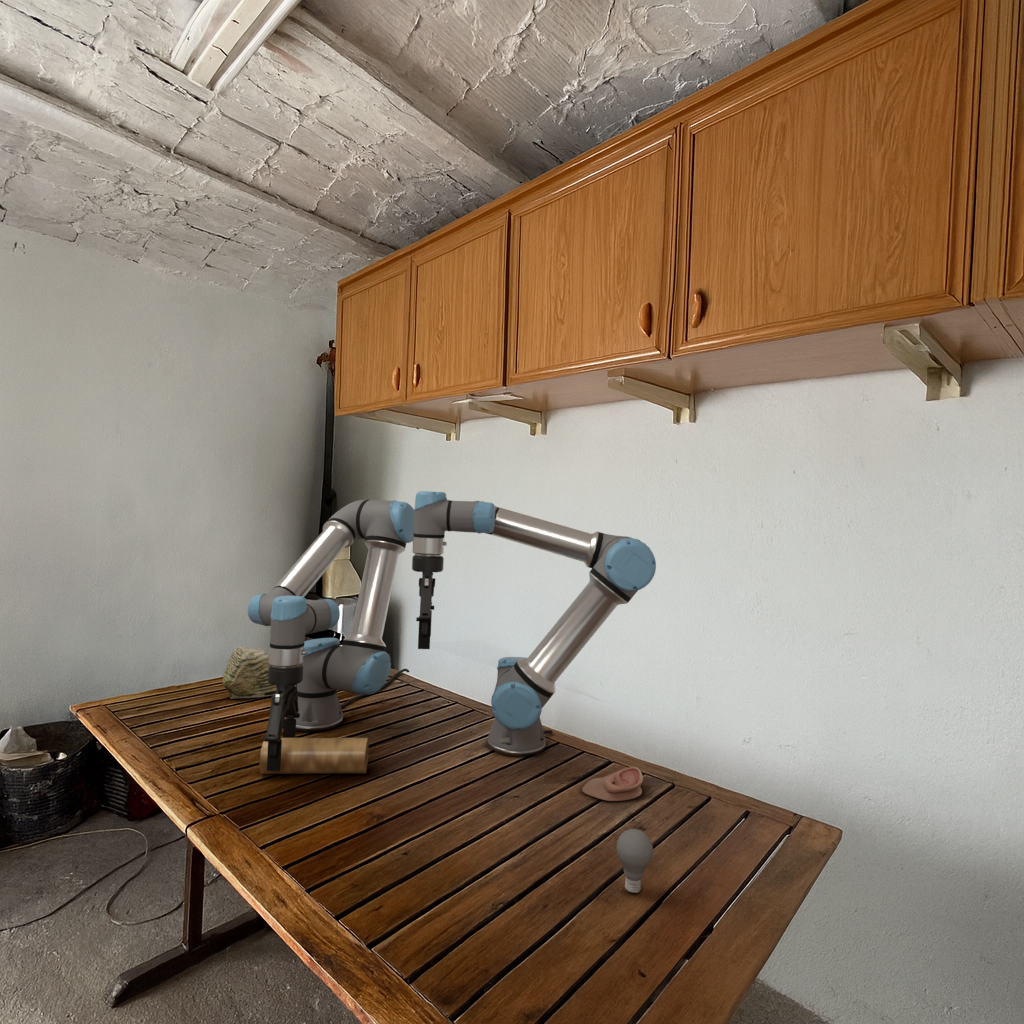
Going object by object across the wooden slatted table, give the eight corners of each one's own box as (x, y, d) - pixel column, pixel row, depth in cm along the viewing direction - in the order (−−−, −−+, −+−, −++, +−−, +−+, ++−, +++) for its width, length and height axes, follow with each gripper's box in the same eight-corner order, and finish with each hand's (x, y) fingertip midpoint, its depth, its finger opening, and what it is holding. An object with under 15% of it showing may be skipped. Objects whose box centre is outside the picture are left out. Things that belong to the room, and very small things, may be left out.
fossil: (218, 695, 195) (220, 647, 195) (278, 685, 208) (279, 640, 207) (228, 703, 189) (230, 653, 188) (289, 692, 201) (290, 645, 201)
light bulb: (610, 879, 108) (613, 822, 108) (644, 879, 109) (647, 822, 109) (619, 902, 102) (622, 840, 102) (655, 901, 103) (658, 840, 103)
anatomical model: (581, 779, 138) (585, 758, 149) (580, 797, 138) (585, 775, 149) (643, 787, 135) (643, 766, 147) (642, 806, 136) (642, 783, 147)
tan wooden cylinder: (258, 779, 140) (260, 745, 140) (268, 765, 148) (269, 732, 148) (364, 779, 143) (365, 745, 143) (368, 765, 150) (369, 732, 150)
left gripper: (290, 679, 132) (285, 781, 132) (314, 652, 157) (309, 738, 157) (252, 679, 131) (247, 781, 131) (282, 651, 156) (278, 737, 156)
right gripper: (443, 560, 141) (439, 655, 142) (443, 551, 166) (440, 631, 167) (409, 559, 140) (406, 654, 141) (414, 550, 165) (411, 631, 166)
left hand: (281, 758), depth 144 cm, fingers open, 13 cm apart
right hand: (424, 642), depth 154 cm, fingers open, 13 cm apart
